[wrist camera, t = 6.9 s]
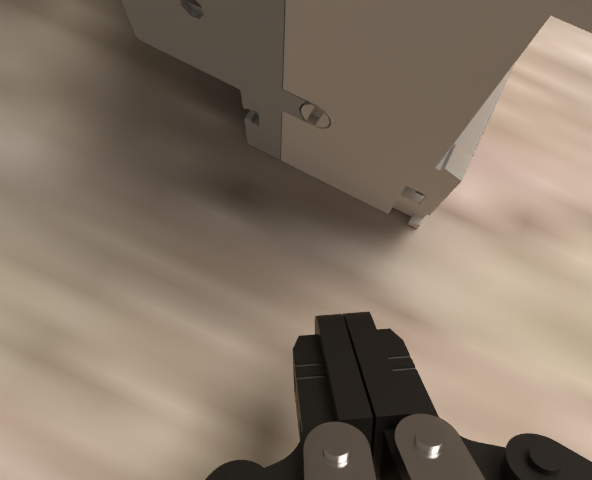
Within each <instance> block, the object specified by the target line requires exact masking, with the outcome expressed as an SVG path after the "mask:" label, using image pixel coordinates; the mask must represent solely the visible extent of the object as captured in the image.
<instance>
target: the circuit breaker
mask: <svg viewBox="0 0 592 480" xmlns="http://www.w3.org/2000/svg"><path fill="white" fill-rule="evenodd" d="M121 1H122V4H123V6H124V9H125V11H126V13H127V16H128V18H129V21H130V23H131V26H132V28H133V31H134V33H135V36H136V37H137V38H138V39H139V40H140V41H142V42H144V43H146V44H149V45H151V46H153V47H155V48H157V49H159V50H161V51H163V52H165V53H167V54H169V55H171V56H173V57H175V58H177V59H179V60H181V61H183V62H185V63H187V64H189V65H191V66H193V67H195V68H197V69H199V70H201V71H203V72H205V73H207V74H209V75H211V76H213V77H215V78H217V79H219V80H221V81H224V82H226V83H228V84H230V85H232V86H234V87H236V88H238V89H240V92H241V98H242V105H243V109H249V110H250V111H249V112H248V114H247V115H246V117H245V118H244V120H245V129H246V137H247V143H248V144H249V145H251V146H253V147H255V148H257V149H259V150H261V151H263V152H265V153H267V154H269V155H271V156H273V157H275V158H277V159H279V160H281V161H283V162H285V163H287V164H289V165H291V166H293V167H295V168H297V169H299V170H301V171H303V172H305V173H307V174H309V175H311V176H313V177H315V178H317V179H319V180H321V181H323V182H325V183H327V184H329V185H331V186H333V187H335V188H337V189H339V190H341V191H343V192H345V193H347V194H349V195H351V196H353V197H355V198H357V199H359V200H361V201H363V202H365V203H367V204H369V205H371V206H373V207H375V208H377V209H379V210H381V211H383V212H385V213H387V214H389V212H390V211H391V209H392V208H395V209H397V210H399V211H401V212H403V213H405V214H407V215H409V216H411V218H410V220H409V222H408V224H409V225H411V226H413V227H415V228H418V227H419V226H420V224H421V222H422V220H423V218H424V217H425V216H426V214H428V215H430V214H431V213H432V212H433V211H434V210H435V209H436V208H437V207H438V206H439V204H440V203H441V202H442V201H443V200H444V199H445V198H446V197H447V196H448V195H449V194H450V193H451V192H452V191H453V189H454V188H455V187H456V186H457V185H458V184H459V183H460V182H461V181H462V179H463V176H464V174H465V172H466V170H467V168H468V165H469V163H470V161H471V159H472V156H473V154H474V152H475V150H476V148H477V145H478V143H479V141H480V139H481V136H482V134H483V132H484V130H485V128H486V125H487V123H488V121H489V119H490V116H491V114H492V112H493V110H494V108H495V105H496V103H497V101H498V99H499V96H500V94H501V92H502V90H503V88H504V85H505V83H506V81H507V79H508V76H509V74H510V72H511V70H512V68H513V65H514V63H515V62H516V61H517V59H518V58H519V57H520V55H521V54H522V53H523V51H524V50H525V49H526V47H527V46H528V45H529V43H530V42H531V41H532V39H533V38H534V37H535V35H536V34H537V33H538V31H539V30H540V29H541V27H542V26H543V25H544V23H545V22H546V21H547V19H548V18H549V17H550V15H551V16H553V17H556V18H558V19H560V20H563V21H565V22H567V23H570V24H572V25H574V26H577V27H579V28H581V29H584V30H586V31H588V32H590V33H592V0H121ZM415 192H417V193H415ZM418 193H419V194H418ZM420 194H421V195H420Z"/></svg>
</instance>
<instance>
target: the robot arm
mask: <svg viewBox="0 0 592 480" xmlns="http://www.w3.org/2000/svg"><path fill="white" fill-rule="evenodd" d="M293 368H294V392H295V401H296V409H297V418H298V427H299V436H300V442H299V444H298V446H297V447H296V448H295V450H294V451H293V452H292V453H291V454H290V455H289V456H288V457H286V458H285V459H283V460H281V461H279V462H277V463H275V464H273V465H270V466H268V467H266V468H263V467H261V466H260V465H259V464H257V463H255V462H252V461H248V460H235V461H230V462H228V463H225V464H223V465H221V466H219V467H218V468H217V469H215V470H214V471H213V472H212V473H211V474H210V475H209V476H208V477H207V478H206V480H592V462H591V461H589V460H587V459H586V458H584V457H582V456H580V455H579V454H577V453H575V452H573V451H572V450H570V449H568V448H566V447H565V446H563V445H561V444H560V443H558V442H556V441H554V440H552V439H550V438H547V437H545V436H542V435H538V434H529V433H525V434H520V435H517V436H515V437H513V438H512V439H511V440H510V441H509V442H508V444H507V446H506V448H505V447H500V446H495V445H489V444H484V443H479V442H475V441H471V440H468V439H466V438H463V437H461V436H459V434H458V433H457V431H456V430H455V429H454V428H453V427H452V426H451V425H450V424H449V423H447V422H446V421H444V420H443V419H441V418H439V416H438V414H437V412H436V410H435V408H434V406H433V404H432V402H431V399H430V397H429V395H428V393H427V391H426V389H425V387H424V384H423V382H422V380H421V378H420V376H419V374H418V371H417V370H416V369H415V365H414V363H413V361H412V359H411V358H410V354H409V352H408V350H407V348H406V346H405V344H404V341H403V340H402V339H401V338H400V337H399V336H398V335H396V334H395V333H394V332H393V331H392V330H391V329H379V330H377V329H376V326H375V324H374V321H373V319H372V316H371V314H370V312H359V313H346V314H343V315H342V314H334V315H321V316H315V335H304V336H299V337H298V339H297V341H296V343H295V346H294V348H293Z"/></svg>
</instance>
